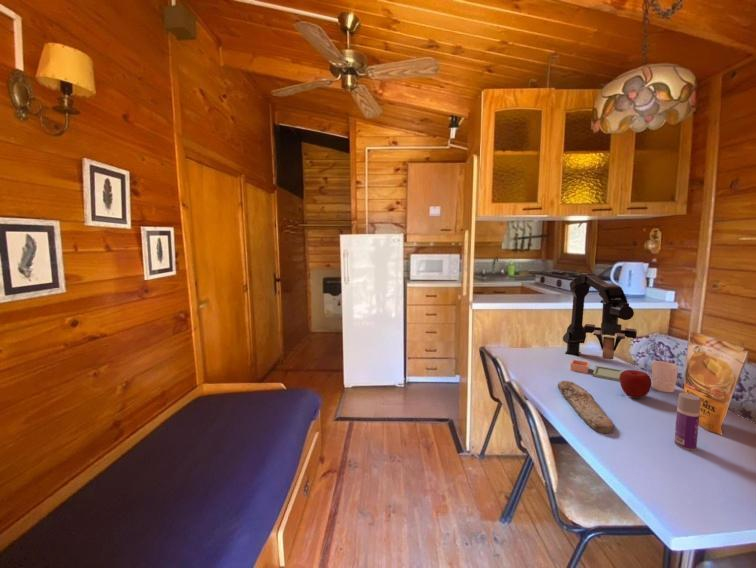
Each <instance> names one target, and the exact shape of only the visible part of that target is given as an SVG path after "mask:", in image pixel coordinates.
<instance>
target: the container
mask: <svg viewBox="0 0 756 568" xmlns="http://www.w3.org/2000/svg"><path fill="white" fill-rule="evenodd" d="M677 400H678V401H677V407H676V418H675V428H674V429H675V432H674V441H673V442H674V444H675V446H676V447H678V448H681V449H683V450H686V451H697V445H698V436H699V435H698V433H699V426H700V425H699V413H700V397H698V396H696V395H693V394H689V393H684V392H679V393H678V399H677Z"/></svg>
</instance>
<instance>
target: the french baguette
mask: <svg viewBox="0 0 756 568" xmlns="http://www.w3.org/2000/svg"><path fill="white" fill-rule="evenodd" d="M557 389H558V390H559V392H560V394H561V395H562V398H563V399H565V401H566V402H567V403H568V404H569V405H570V406H571V407H572V409H573V410H574V412H575V413H577V414H578V416H580V418H581V419H582V420H583V421H584V422H585V424H586V425H588V427H589V428H591V429H592V430H594V431H596V432H598V433H601V434H607V435H608V434H609V435H610V434H612V433H613V432H614V424H613V421H612V419H611V418H609V416H607V413H606V412H605V411H604V410H603V408H602V407H600V405H599V403H598V402H597V401H596V400H595V399H594V396H593V395H592V394H591V393H589V392H588V390H586V389H584V388H583V387H582V386H580V385H578V384H576V383H575V382H573V381H569V380H561V381H558V382H557Z"/></svg>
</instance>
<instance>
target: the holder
mask: <svg viewBox="0 0 756 568" xmlns="http://www.w3.org/2000/svg"><path fill="white" fill-rule="evenodd" d="M590 365H591V363H590V362H589V361H584V360H578V359H577V360H576V359H572V360H571V362H570V368H569V369H570V371H573V372H577V373H583V374H584V373H585V374H588V373H589V371H590Z"/></svg>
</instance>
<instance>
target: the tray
mask: <svg viewBox="0 0 756 568" xmlns="http://www.w3.org/2000/svg"><path fill="white" fill-rule="evenodd" d="M622 372H623V370H622V369H618V368H613V367H607V366H602V365H601V366H600V365H595V366H594V369H593V371H592V377H594V378H600V379H604V380H605V379H606V380H610V381H615V382H620V374H621V373H622Z"/></svg>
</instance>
